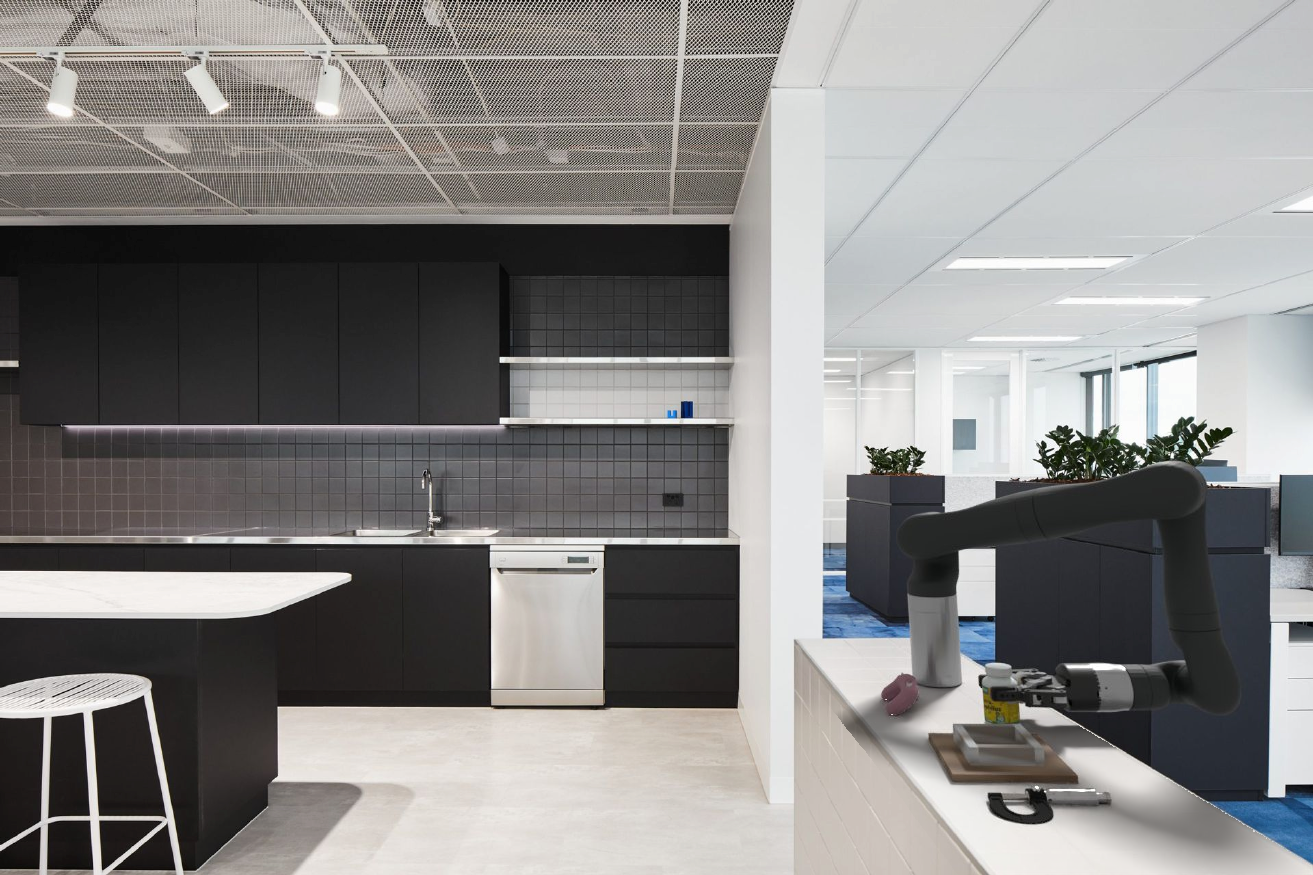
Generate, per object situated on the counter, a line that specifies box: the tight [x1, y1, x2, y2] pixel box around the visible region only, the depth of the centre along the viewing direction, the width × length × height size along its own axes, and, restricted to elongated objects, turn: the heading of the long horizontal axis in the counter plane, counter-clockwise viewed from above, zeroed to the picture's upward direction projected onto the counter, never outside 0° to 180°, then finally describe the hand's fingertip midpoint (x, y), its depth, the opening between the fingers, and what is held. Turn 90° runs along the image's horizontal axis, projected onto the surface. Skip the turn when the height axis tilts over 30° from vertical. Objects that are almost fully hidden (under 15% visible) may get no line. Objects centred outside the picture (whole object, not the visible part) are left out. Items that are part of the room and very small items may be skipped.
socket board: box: [927, 723, 1079, 784], centre depth 110 cm, size 16×16×4 cm
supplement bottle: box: [981, 662, 1021, 724], centre depth 124 cm, size 5×5×10 cm
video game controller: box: [880, 672, 921, 716], centre depth 135 cm, size 10×5×7 cm, turn 169°
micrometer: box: [987, 784, 1113, 825], centre depth 94 cm, size 15×7×2 cm, turn 82°
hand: (985, 687), depth 125 cm, fingers open, 6 cm apart
